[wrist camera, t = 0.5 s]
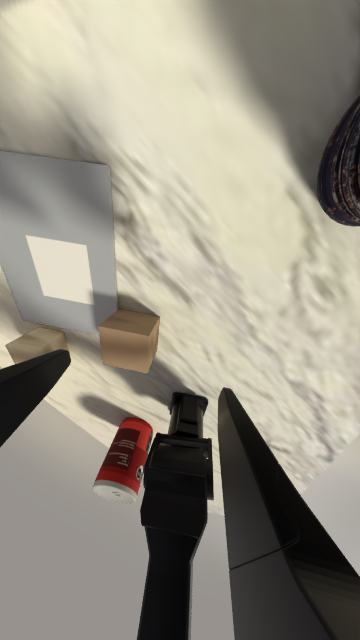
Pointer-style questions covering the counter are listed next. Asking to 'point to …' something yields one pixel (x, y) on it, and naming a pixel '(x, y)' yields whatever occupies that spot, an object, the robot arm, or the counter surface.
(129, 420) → the canned food
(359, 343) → the counter surface
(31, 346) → the maple block
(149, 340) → the walnut block
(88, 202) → the build mat
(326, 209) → the black jar
